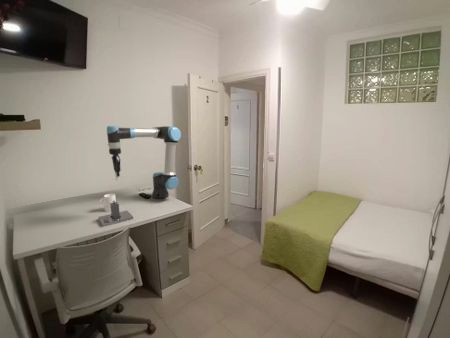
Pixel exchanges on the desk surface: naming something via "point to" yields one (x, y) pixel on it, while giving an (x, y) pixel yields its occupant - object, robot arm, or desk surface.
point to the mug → (108, 201)
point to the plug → (114, 210)
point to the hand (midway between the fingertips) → (118, 180)
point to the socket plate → (108, 220)
